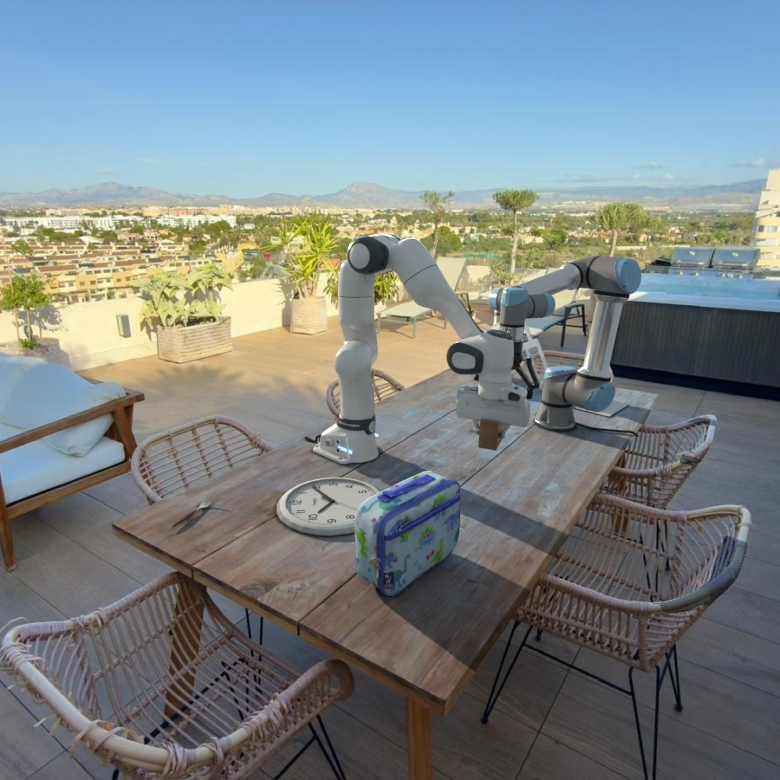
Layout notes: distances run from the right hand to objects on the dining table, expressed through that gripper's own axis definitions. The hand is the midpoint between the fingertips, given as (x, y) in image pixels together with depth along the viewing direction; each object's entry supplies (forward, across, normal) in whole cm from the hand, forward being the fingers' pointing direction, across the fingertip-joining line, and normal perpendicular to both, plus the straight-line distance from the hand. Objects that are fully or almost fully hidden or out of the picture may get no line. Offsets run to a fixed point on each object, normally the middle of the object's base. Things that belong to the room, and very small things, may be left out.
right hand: (504, 405), depth 166 cm
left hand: (+3, 0, -21) cm, 21 cm away
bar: (+5, 0, -10) cm, 12 cm away
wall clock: (+20, -37, -47) cm, 63 cm away
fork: (+20, -68, -66) cm, 97 cm away
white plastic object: (+19, -14, +91) cm, 94 cm away
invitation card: (+19, +30, +74) cm, 82 cm away
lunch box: (+20, -8, -65) cm, 68 cm away
